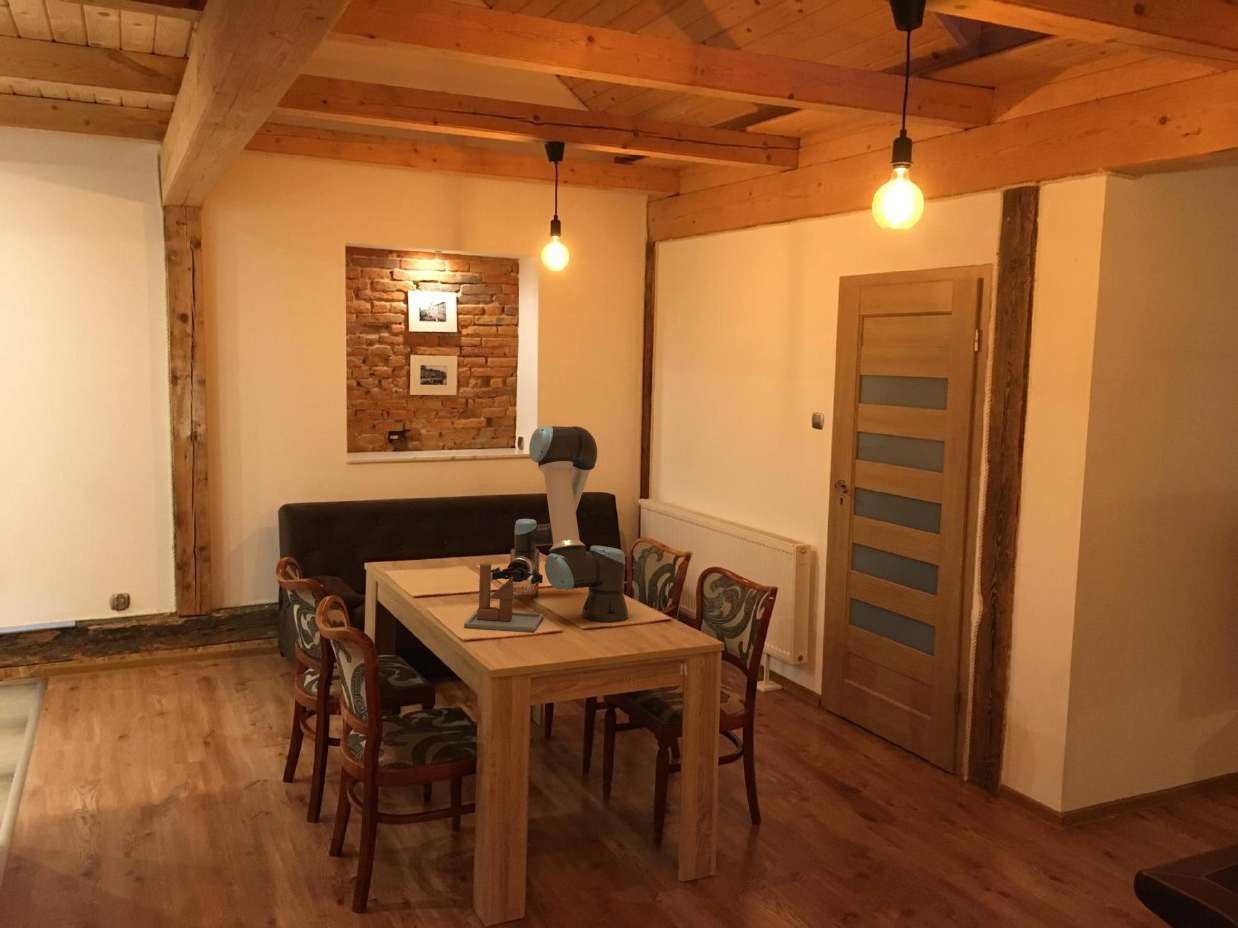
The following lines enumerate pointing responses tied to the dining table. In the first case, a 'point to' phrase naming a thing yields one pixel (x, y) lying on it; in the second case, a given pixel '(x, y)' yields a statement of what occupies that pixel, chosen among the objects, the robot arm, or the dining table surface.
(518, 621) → the slate tray
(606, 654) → the dining table surface
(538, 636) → the dining table surface
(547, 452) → the robot arm
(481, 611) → the wooden block
